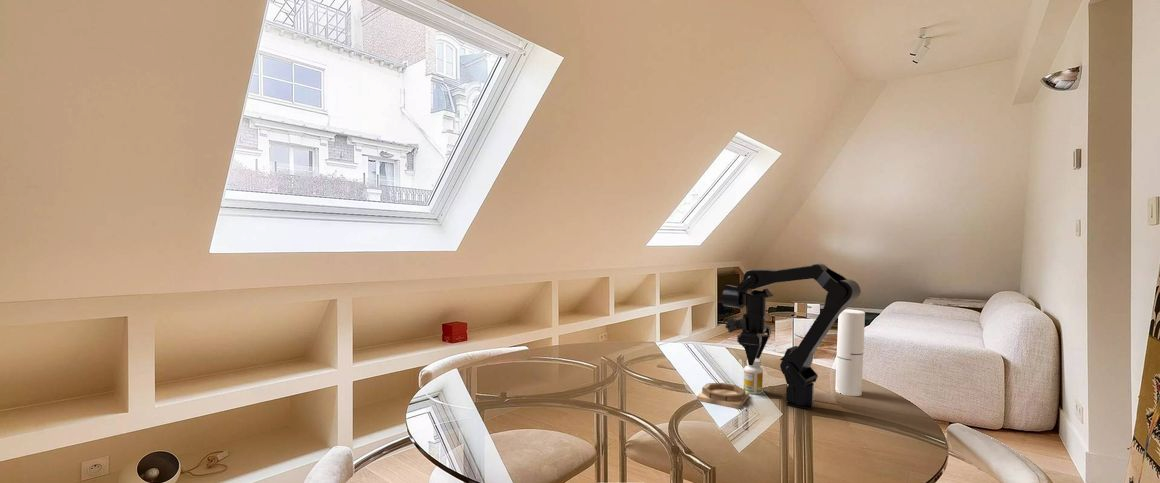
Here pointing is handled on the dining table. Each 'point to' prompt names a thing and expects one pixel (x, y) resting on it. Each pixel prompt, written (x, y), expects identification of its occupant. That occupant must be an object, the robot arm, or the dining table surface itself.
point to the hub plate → (723, 394)
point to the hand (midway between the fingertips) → (754, 361)
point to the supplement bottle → (753, 377)
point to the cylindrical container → (850, 352)
